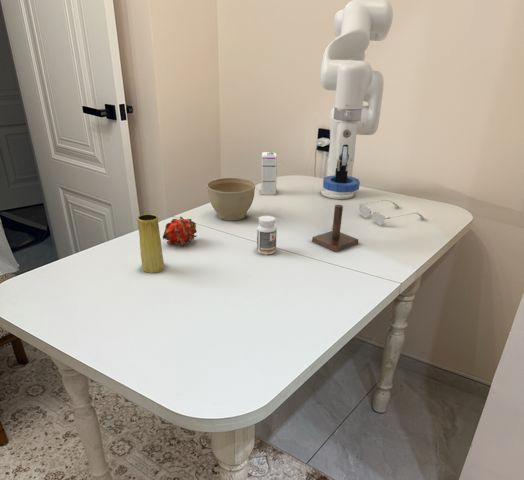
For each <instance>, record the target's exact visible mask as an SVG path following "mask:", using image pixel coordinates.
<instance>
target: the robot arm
mask: <svg viewBox="0 0 524 480" xmlns="http://www.w3.org/2000/svg"><path fill="white" fill-rule="evenodd" d="M393 16H394V13H393V6H392V4H391V2H390V1H389V0H350V1H349V2H348V3H347V4H346V5H345V7H344V8H342V9H340V10H338V11H337V12H336V13H335V14H334V17H333V18H334V20H333V30H334V36H335V38H334V39H333V40H332V41H331V42H330V43H329V44H328V45H327V46H326V48H325V49H324V52H323V54H322V59H321V66H320V74H319V77H320V78H319V80H320V85H321V87H322V88H323V89H324V90H326V91H335V99H334V107H332V109H331V111H330V113H329V149H328V159H327V160H328V161H327V170H326V177H328V176H334V175H336V180H335V182H336V183H346V182H347V176H350V177H353V172H354V171H353V170H354V164H355V157H356V156H355V155H356V142H357V135H358V136H372V135H374V134H376V133H377V131H378V128H379V125H380V117H381V110H382V102H383V94H384V85H385V83H384V81H385V80H384V75H383V73H382V72H380V71H379V70H373V68H372V65H371V63H370V62H368V61H366V60H365V59H366V51H367V50H368V47H369V46H370V41H371V42H382V41H384V40H385V39H386V38H387V36H388V34H389V32H390V30H391V27H392V24H393V18H394V17H393ZM364 102H366V103H367V104H368V105H364ZM320 193H321V195H322V196H324V197H325V198H328V199H333V200H347V199H351V198H353V197H354V196H355V191H354V192H334V191H329V190H327V189H325V188H322V189H321V192H320Z"/></svg>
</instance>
